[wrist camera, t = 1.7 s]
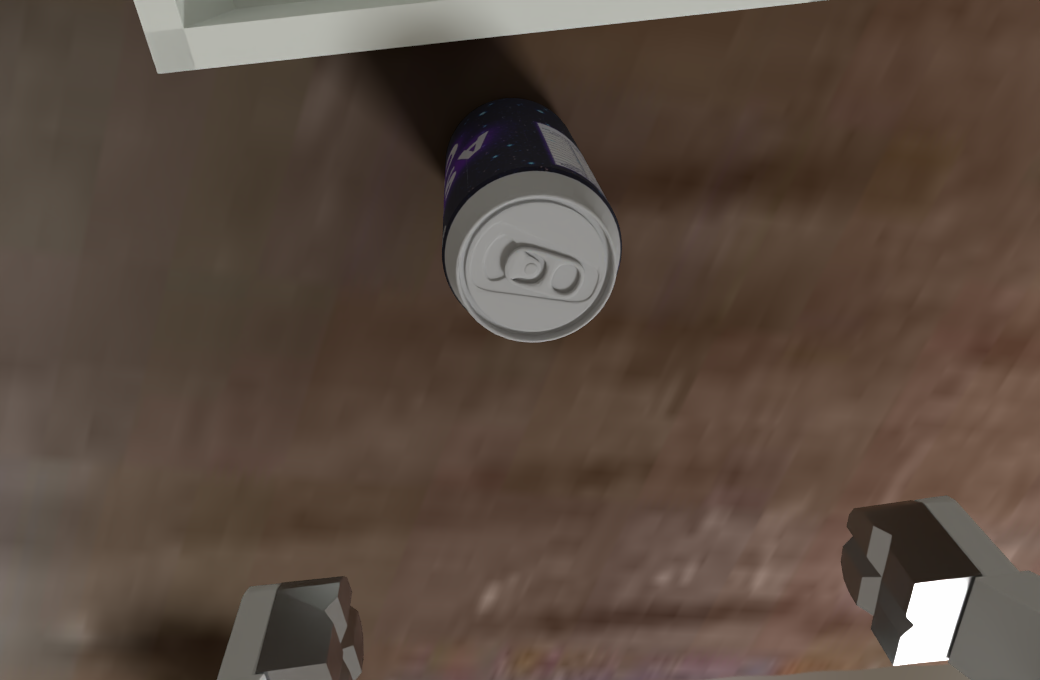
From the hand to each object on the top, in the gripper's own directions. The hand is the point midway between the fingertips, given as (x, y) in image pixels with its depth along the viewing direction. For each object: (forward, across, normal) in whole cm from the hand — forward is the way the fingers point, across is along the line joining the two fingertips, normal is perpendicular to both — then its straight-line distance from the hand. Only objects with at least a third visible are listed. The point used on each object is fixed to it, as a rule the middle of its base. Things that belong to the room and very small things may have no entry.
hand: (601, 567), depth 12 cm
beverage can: (+24, 0, 0) cm, 24 cm away
